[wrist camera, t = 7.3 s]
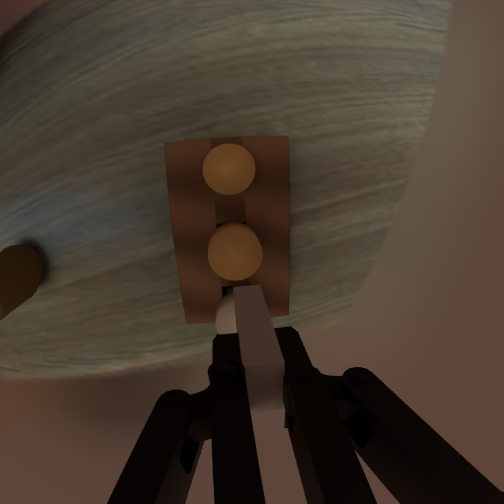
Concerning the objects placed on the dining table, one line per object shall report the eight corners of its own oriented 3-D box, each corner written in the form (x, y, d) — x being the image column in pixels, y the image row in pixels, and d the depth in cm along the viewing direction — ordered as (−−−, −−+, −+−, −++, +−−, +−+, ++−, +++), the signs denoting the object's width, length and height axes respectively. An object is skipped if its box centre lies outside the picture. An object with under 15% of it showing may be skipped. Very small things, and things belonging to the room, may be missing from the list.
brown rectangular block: (174, 144, 30) (164, 143, 25) (276, 138, 32) (288, 135, 26) (190, 299, 37) (186, 323, 32) (278, 291, 38) (288, 314, 33)
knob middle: (208, 211, 30) (205, 231, 23) (250, 208, 31) (261, 227, 23) (211, 251, 32) (210, 282, 24) (252, 248, 32) (263, 278, 25)
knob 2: (213, 271, 32) (213, 306, 25) (253, 268, 33) (263, 302, 26) (217, 305, 34) (218, 345, 27) (254, 302, 35) (264, 341, 27)
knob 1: (205, 147, 30) (201, 145, 23) (245, 145, 31) (254, 142, 23) (207, 186, 32) (204, 196, 24) (247, 184, 32) (256, 193, 25)
